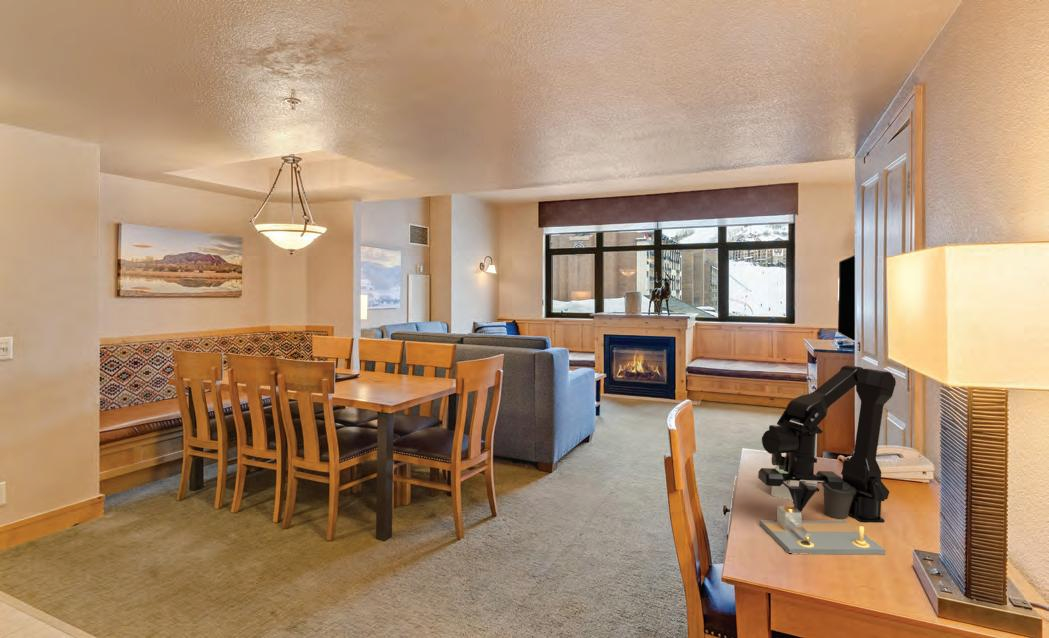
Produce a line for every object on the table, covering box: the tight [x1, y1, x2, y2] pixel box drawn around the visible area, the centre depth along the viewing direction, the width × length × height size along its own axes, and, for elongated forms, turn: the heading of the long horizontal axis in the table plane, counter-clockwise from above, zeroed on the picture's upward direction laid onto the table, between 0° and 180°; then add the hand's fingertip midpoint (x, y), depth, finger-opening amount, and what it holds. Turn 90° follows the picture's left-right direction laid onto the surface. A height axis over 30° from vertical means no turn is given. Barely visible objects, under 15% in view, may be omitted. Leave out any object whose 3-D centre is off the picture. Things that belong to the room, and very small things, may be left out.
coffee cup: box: [821, 481, 857, 521], centre depth 141 cm, size 8×8×10 cm
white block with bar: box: [776, 505, 810, 543], centre depth 128 cm, size 4×11×5 cm, turn 0°
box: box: [770, 465, 792, 501], centre depth 158 cm, size 7×14×8 cm, turn 145°
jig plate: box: [759, 519, 886, 556], centre depth 128 cm, size 22×15×5 cm
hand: (798, 511), depth 133 cm, fingers closed
